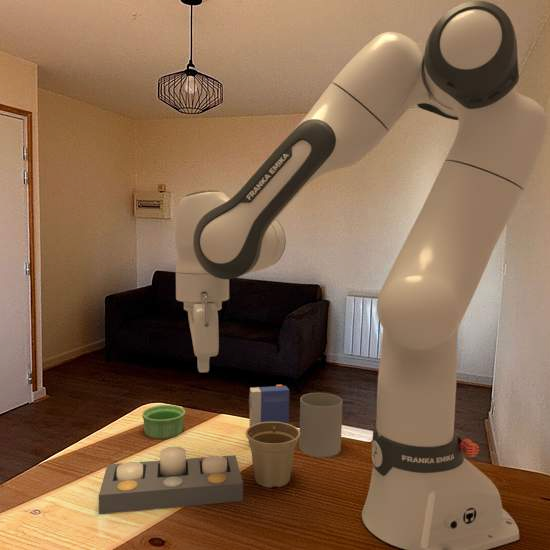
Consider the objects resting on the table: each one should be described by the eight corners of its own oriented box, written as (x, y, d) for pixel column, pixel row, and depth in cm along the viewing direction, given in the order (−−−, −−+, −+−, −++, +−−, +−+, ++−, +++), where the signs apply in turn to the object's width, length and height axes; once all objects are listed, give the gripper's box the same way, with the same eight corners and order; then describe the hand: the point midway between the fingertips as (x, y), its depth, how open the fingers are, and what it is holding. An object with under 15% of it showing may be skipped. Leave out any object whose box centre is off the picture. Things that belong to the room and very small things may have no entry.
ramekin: (174, 443, 100) (174, 422, 100) (134, 437, 102) (134, 417, 102) (191, 426, 109) (191, 407, 109) (154, 421, 111) (154, 402, 111)
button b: (185, 464, 85) (185, 445, 85) (185, 476, 81) (186, 456, 81) (160, 466, 84) (160, 447, 84) (159, 478, 80) (159, 458, 80)
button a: (225, 473, 87) (225, 455, 87) (228, 485, 83) (228, 466, 82) (201, 475, 86) (201, 456, 86) (202, 487, 82) (203, 468, 82)
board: (235, 471, 89) (235, 454, 88) (242, 500, 79) (243, 481, 79) (107, 481, 84) (107, 463, 84) (98, 514, 75) (98, 493, 74)
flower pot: (294, 497, 80) (295, 446, 80) (238, 489, 82) (239, 440, 82) (302, 470, 90) (303, 424, 89) (252, 464, 92) (253, 419, 91)
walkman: (284, 440, 102) (285, 383, 101) (288, 445, 100) (289, 388, 99) (247, 443, 101) (248, 386, 99) (250, 449, 98) (251, 390, 97)
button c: (143, 479, 84) (143, 460, 84) (142, 492, 80) (142, 472, 80) (118, 481, 83) (118, 462, 83) (115, 495, 79) (115, 474, 79)
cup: (295, 453, 96) (296, 404, 95) (302, 437, 104) (304, 391, 103) (338, 459, 94) (340, 408, 93) (342, 441, 102) (344, 395, 101)
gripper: (228, 296, 73) (228, 387, 74) (216, 283, 93) (216, 354, 94) (184, 297, 72) (185, 390, 73) (182, 283, 91) (183, 356, 93)
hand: (203, 370), depth 83 cm, fingers closed
